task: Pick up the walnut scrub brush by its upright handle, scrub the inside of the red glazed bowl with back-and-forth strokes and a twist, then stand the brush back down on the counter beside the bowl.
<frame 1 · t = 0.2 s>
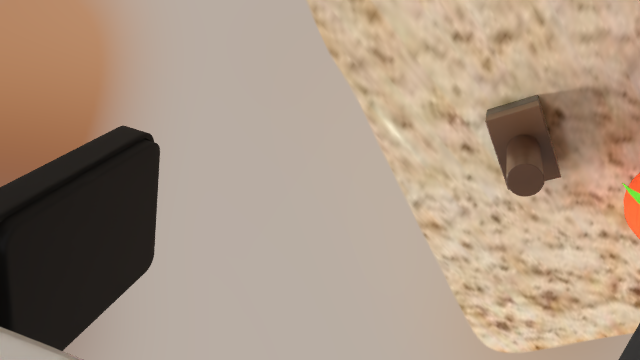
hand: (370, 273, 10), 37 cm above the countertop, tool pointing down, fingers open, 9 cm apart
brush: (522, 136, 45), on the countertop
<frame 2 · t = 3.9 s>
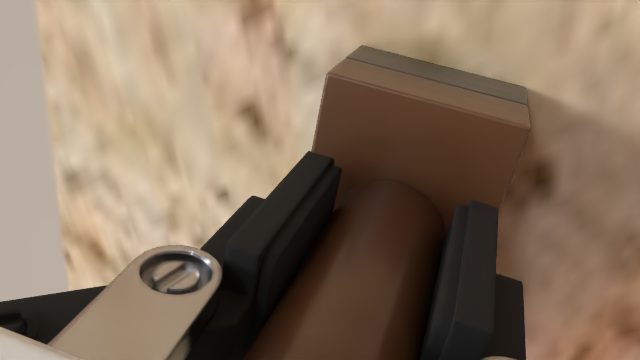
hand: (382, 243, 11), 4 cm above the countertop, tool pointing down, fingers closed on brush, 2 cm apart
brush: (409, 176, 15), on the countertop, touching gripper
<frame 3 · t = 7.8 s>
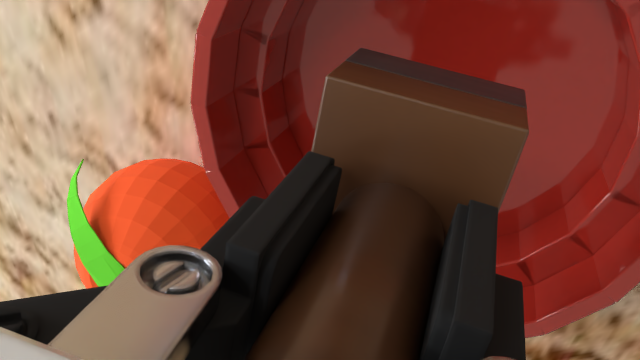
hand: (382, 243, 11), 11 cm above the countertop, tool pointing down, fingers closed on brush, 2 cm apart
clementine: (199, 193, 26), on the countertop
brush: (408, 178, 15), point 7 cm above the countertop, touching gripper
bowl: (442, 90, 21), on the countertop
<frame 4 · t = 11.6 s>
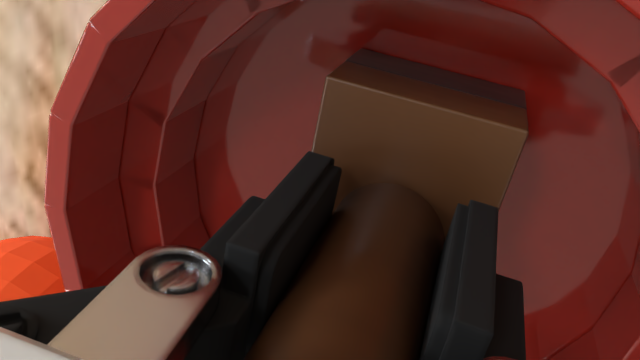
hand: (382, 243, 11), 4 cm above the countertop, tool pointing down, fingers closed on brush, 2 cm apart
clementine: (93, 270, 21), on the countertop
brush: (408, 178, 15), point 1 cm above the countertop, touching gripper
bowl: (399, 198, 16), on the countertop
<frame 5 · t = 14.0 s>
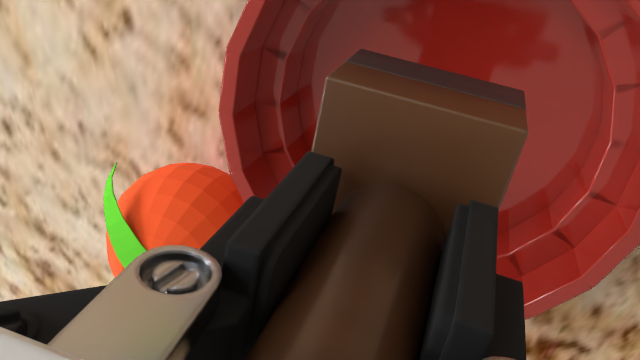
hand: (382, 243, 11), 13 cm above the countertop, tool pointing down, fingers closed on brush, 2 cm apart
clementine: (217, 196, 29), on the countertop
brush: (408, 179, 15), point 10 cm above the countertop, touching gripper
bowl: (440, 102, 23), on the countertop
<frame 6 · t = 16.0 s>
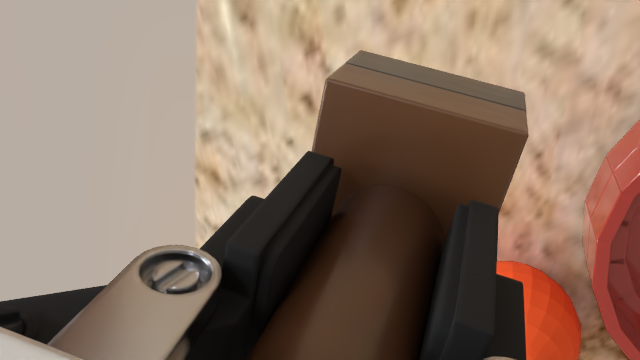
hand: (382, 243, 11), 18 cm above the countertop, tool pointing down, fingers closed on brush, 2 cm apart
clementine: (502, 281, 32), on the countertop
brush: (408, 180, 15), point 15 cm above the countertop, touching gripper
when the fingers open (4 cm above the countertop, at t = 19.5 s): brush stays where it is, on the countertop.
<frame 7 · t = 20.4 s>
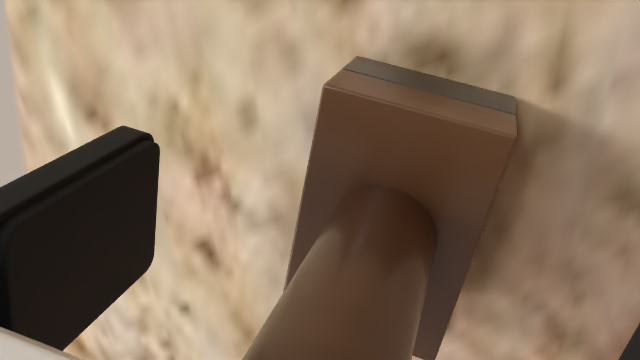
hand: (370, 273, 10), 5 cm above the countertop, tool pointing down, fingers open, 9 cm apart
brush: (404, 182, 15), on the countertop
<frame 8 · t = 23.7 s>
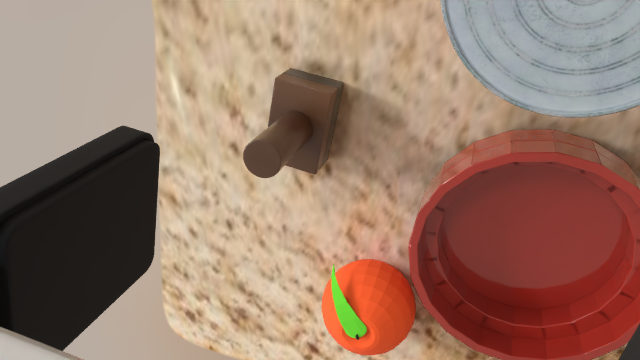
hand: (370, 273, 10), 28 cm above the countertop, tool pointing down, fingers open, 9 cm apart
clementine: (375, 274, 45), on the countertop
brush: (309, 114, 41), on the countertop
bowl: (528, 229, 39), on the countertop
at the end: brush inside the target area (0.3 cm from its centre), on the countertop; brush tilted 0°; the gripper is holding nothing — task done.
